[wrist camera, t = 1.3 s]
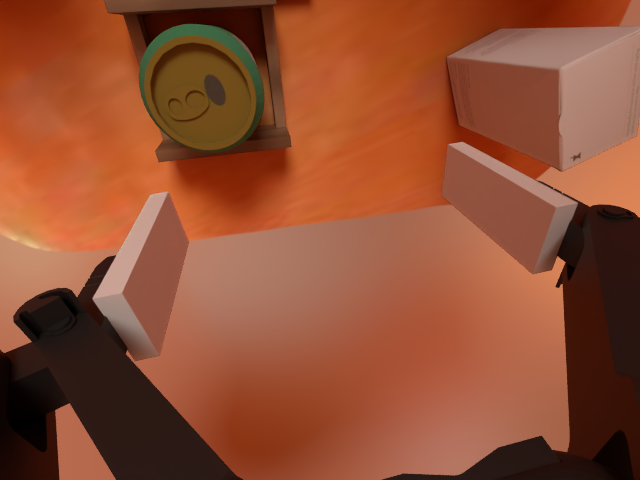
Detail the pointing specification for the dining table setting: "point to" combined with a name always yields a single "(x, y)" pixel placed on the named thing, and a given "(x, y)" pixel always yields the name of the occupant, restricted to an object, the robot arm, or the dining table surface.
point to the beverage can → (202, 87)
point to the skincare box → (551, 90)
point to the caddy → (135, 3)
